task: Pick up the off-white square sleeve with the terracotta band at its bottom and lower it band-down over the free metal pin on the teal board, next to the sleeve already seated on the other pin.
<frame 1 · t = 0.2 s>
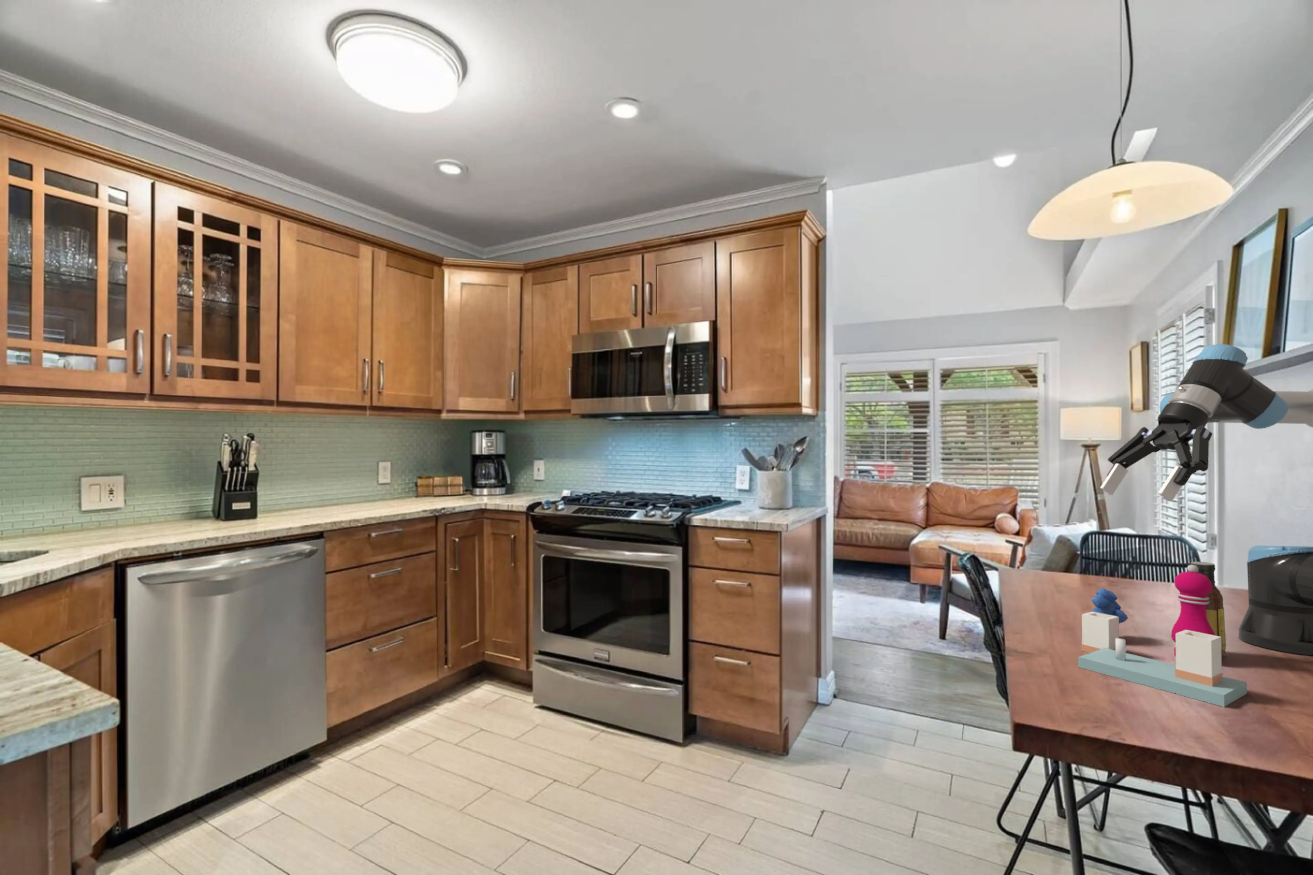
hand: (1133, 494, 122), 35 cm above the table, tool tilted 35°, fingers open, 13 cm apart
seated sleeve: (1198, 679, 108), point 2 cm above the table, touching pin board
sauce bottle: (1205, 654, 130), on the table
sleeve: (1100, 652, 129), on the table
grapes: (1110, 640, 139), on the table
pepper mill: (1193, 660, 126), on the table
pin board: (1158, 679, 113), on the table
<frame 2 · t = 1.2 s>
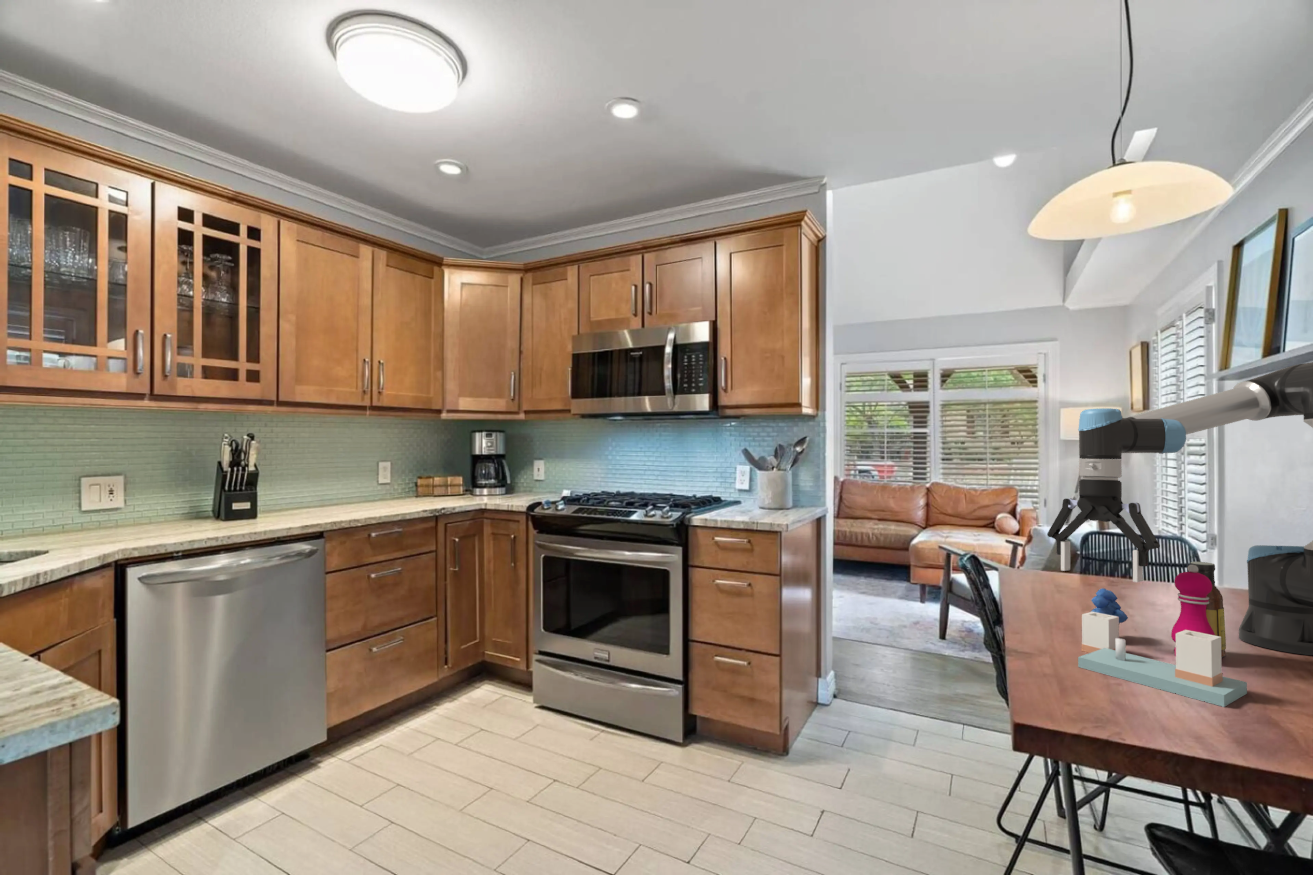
hand: (1100, 575, 130), 17 cm above the table, tool pointing down, fingers open, 13 cm apart
nothing on the table moved.
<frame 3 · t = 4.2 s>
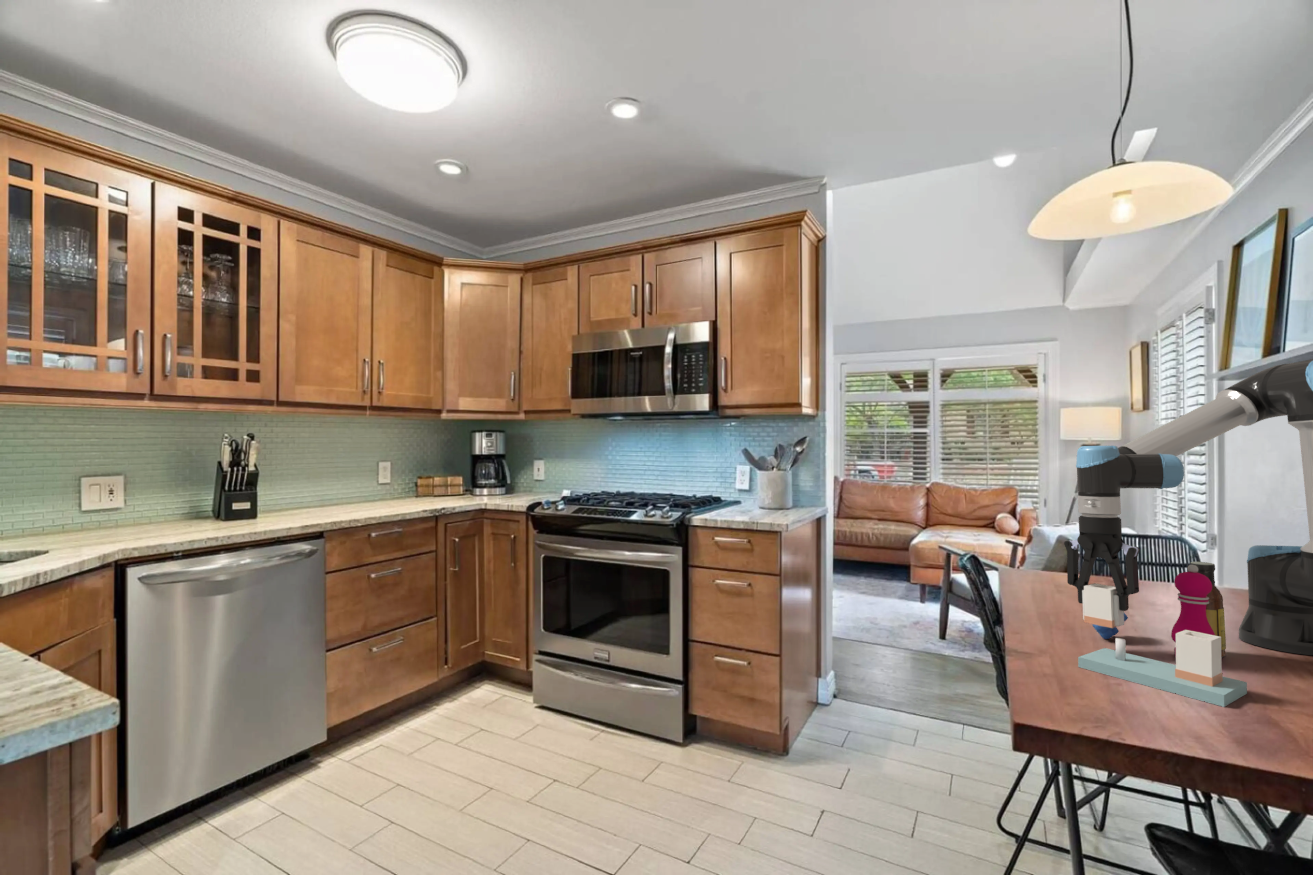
hand: (1103, 621, 129), 7 cm above the table, tool pointing down, fingers closed on sleeve, 5 cm apart
sleeve: (1103, 623, 129), point 6 cm above the table, touching gripper
everything else where it was.
when the fingers open (3 cm above the table, at t = 7.8 s): sleeve stays where it is, resting on pin board.
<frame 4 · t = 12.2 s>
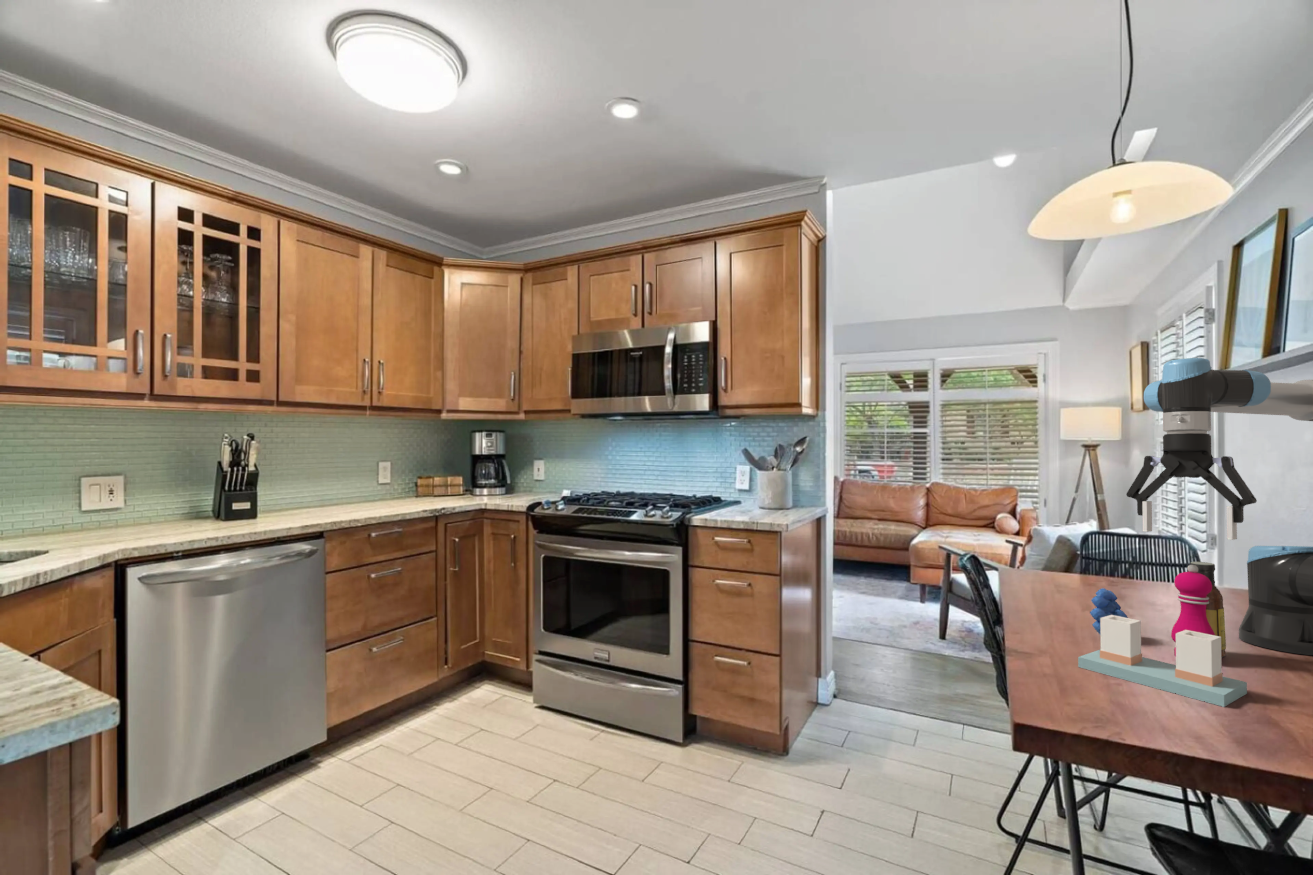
hand: (1187, 535, 123), 27 cm above the table, tool pointing down, fingers open, 13 cm apart
sleeve: (1120, 659, 119), point 2 cm above the table, touching pin board
everything else where it was.
at the end: sleeve 0.1 cm from the target spot, point 2.0 cm above the table; sleeve tilted 0°; the gripper is holding nothing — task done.
